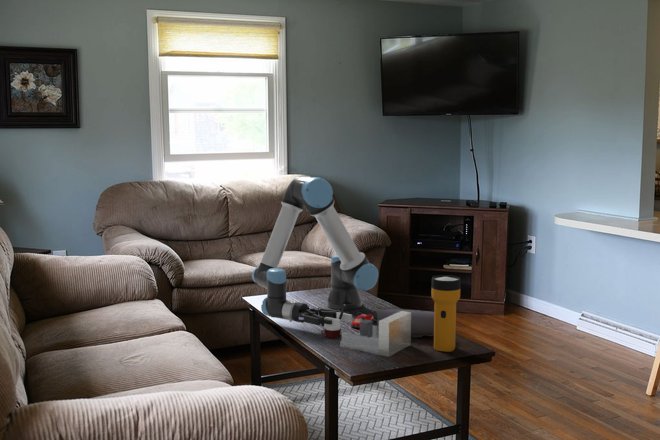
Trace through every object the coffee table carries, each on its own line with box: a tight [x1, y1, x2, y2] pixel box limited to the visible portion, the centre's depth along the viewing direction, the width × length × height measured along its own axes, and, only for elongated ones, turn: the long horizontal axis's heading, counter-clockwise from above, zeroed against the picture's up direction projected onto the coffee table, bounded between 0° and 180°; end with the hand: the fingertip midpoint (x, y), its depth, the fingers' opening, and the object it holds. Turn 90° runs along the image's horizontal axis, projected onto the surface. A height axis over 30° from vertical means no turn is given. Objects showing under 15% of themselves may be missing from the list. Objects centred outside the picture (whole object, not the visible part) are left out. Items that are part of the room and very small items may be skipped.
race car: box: [350, 313, 375, 329], centre depth 272 cm, size 13×5×4 cm, turn 149°
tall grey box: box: [359, 320, 374, 337], centre depth 248 cm, size 4×3×6 cm
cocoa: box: [321, 305, 345, 340], centre depth 255 cm, size 10×6×12 cm, turn 89°
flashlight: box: [430, 274, 462, 353], centre depth 241 cm, size 10×26×10 cm
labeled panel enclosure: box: [339, 311, 412, 358], centre depth 245 cm, size 16×20×12 cm
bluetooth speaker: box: [376, 308, 434, 338], centre depth 257 cm, size 23×9×10 cm, turn 78°
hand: (345, 320), depth 253 cm, fingers closed on cocoa, 7 cm apart
